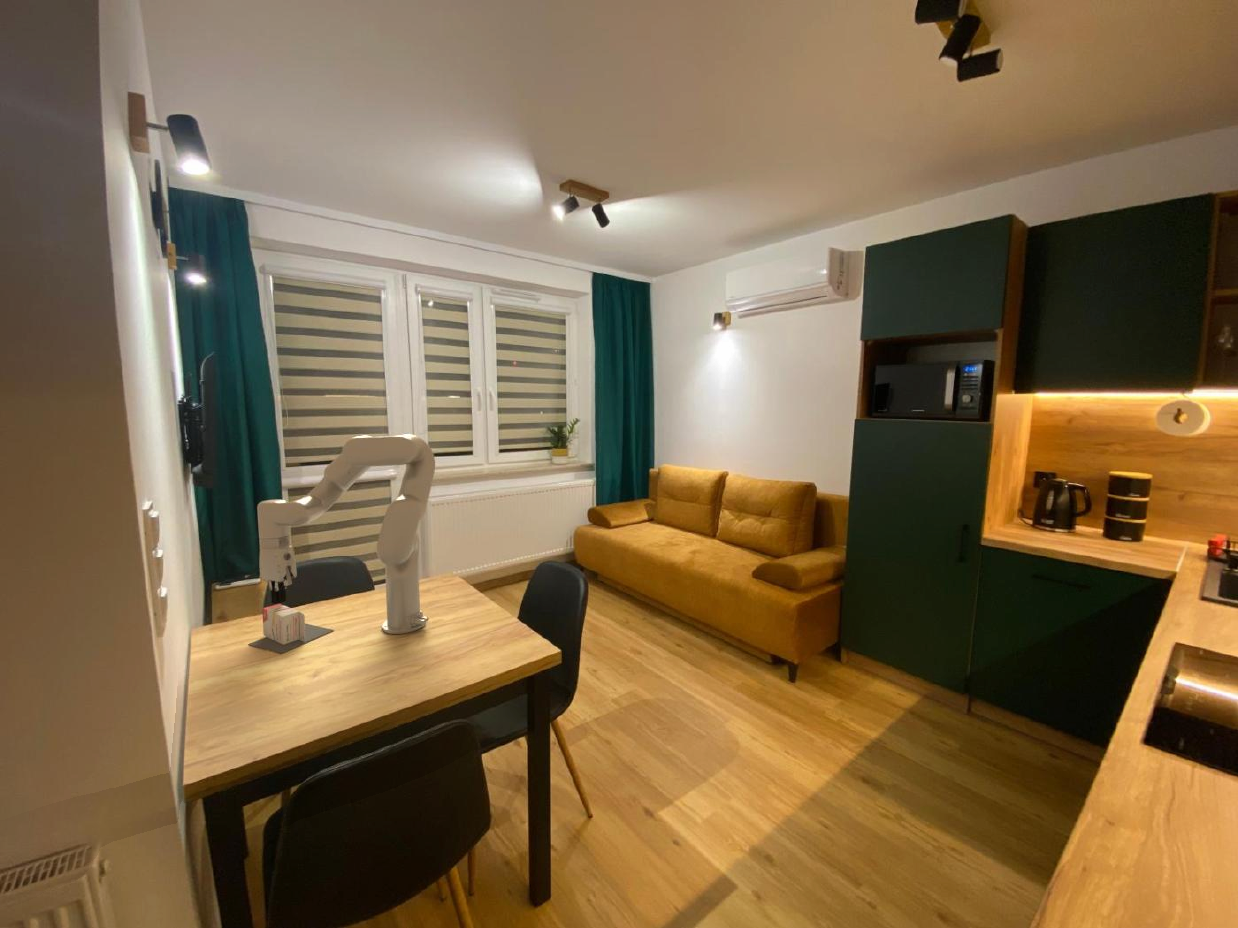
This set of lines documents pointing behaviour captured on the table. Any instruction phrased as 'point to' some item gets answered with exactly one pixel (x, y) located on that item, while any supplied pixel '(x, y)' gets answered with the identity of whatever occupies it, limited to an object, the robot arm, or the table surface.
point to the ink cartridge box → (283, 624)
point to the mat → (310, 634)
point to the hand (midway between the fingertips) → (279, 602)
